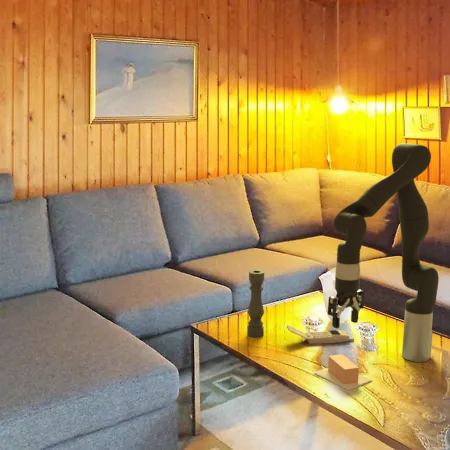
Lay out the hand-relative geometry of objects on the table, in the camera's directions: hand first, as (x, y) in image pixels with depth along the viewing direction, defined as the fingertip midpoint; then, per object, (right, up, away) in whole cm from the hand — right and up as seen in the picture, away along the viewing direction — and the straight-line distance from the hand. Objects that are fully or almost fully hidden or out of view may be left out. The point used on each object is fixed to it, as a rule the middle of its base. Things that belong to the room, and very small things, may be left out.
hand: (345, 324), depth 200 cm
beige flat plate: (0, -18, +3) cm, 18 cm away
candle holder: (-27, -10, +39) cm, 49 cm away
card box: (0, -17, +3) cm, 18 cm away
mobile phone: (-3, -12, +35) cm, 37 cm away
